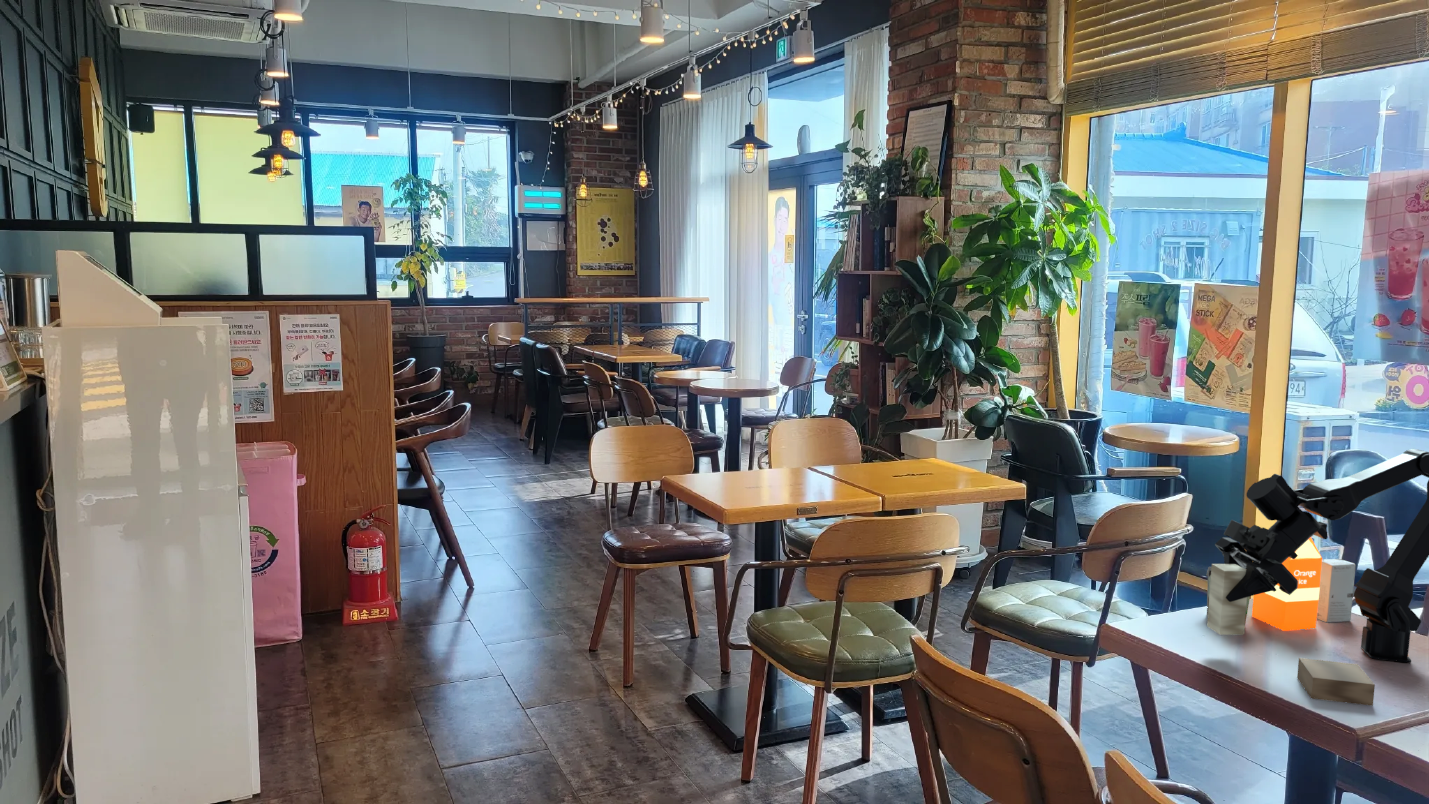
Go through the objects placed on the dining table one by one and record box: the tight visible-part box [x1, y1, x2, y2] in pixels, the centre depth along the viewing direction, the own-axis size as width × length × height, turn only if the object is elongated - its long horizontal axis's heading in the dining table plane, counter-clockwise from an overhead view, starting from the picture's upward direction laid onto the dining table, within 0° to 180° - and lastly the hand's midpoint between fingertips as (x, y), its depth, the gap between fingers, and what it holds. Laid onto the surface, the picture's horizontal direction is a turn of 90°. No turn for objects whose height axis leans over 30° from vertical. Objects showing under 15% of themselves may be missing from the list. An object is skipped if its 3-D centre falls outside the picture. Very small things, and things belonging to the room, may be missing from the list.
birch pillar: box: [1206, 563, 1247, 636], centre depth 185 cm, size 4×4×12 cm
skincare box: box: [1316, 558, 1356, 623], centre depth 206 cm, size 6×4×12 cm
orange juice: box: [1251, 537, 1323, 632], centre depth 203 cm, size 8×9×20 cm
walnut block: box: [1296, 657, 1376, 707], centre depth 170 cm, size 9×9×4 cm
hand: (1220, 595), depth 185 cm, fingers closed on birch pillar, 4 cm apart
